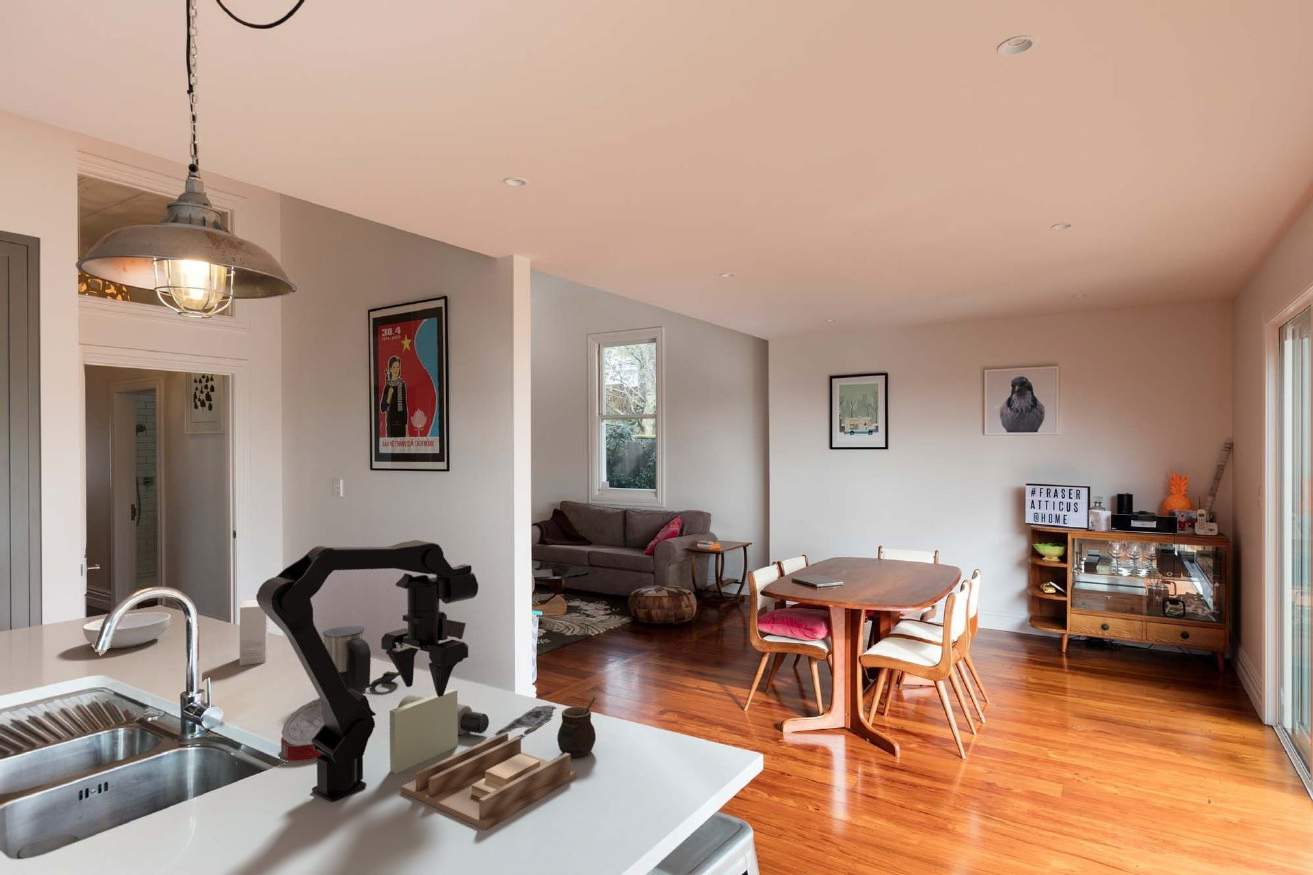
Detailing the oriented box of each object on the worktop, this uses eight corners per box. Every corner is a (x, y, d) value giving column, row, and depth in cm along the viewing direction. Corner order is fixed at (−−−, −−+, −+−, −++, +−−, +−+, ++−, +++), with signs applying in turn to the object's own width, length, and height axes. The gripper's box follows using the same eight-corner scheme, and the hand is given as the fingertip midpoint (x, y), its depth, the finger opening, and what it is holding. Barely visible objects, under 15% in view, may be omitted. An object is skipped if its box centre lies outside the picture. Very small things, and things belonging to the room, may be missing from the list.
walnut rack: (485, 829, 113) (485, 803, 113) (401, 791, 125) (401, 768, 125) (576, 776, 130) (576, 754, 130) (494, 747, 142) (494, 727, 142)
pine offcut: (496, 804, 119) (496, 794, 119) (471, 793, 122) (471, 784, 122) (544, 777, 128) (544, 768, 127) (519, 768, 131) (519, 760, 131)
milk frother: (313, 697, 170) (313, 633, 170) (362, 675, 185) (361, 617, 185) (363, 704, 165) (362, 639, 165) (409, 682, 180) (408, 621, 180)
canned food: (339, 768, 144) (357, 727, 142) (289, 783, 136) (308, 739, 134) (312, 729, 150) (329, 689, 148) (263, 741, 142) (281, 699, 140)
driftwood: (541, 707, 164) (541, 698, 164) (567, 712, 161) (567, 702, 161) (482, 745, 146) (482, 734, 145) (511, 751, 143) (510, 740, 143)
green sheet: (395, 773, 132) (395, 712, 132) (390, 771, 133) (389, 710, 132) (457, 746, 143) (457, 689, 143) (452, 744, 144) (451, 688, 144)
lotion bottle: (392, 720, 151) (473, 736, 144) (402, 692, 154) (481, 706, 146) (409, 725, 156) (488, 741, 148) (418, 697, 158) (496, 711, 151)
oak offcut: (505, 787, 121) (505, 778, 121) (485, 779, 124) (485, 770, 124) (540, 769, 127) (540, 760, 127) (519, 762, 130) (519, 753, 130)
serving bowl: (166, 630, 229) (166, 608, 229) (175, 644, 213) (175, 621, 213) (81, 642, 216) (81, 619, 216) (84, 659, 200) (84, 634, 200)
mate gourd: (549, 752, 140) (549, 699, 140) (582, 741, 145) (582, 690, 145) (570, 765, 135) (570, 710, 134) (604, 753, 139) (603, 700, 139)
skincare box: (241, 657, 201) (241, 600, 200) (269, 654, 203) (268, 598, 203) (239, 666, 193) (238, 607, 193) (267, 662, 196) (266, 604, 196)
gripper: (490, 606, 139) (491, 688, 139) (427, 594, 149) (428, 670, 150) (442, 618, 130) (443, 706, 130) (379, 605, 140) (380, 686, 141)
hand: (424, 691), depth 138 cm, fingers open, 9 cm apart
